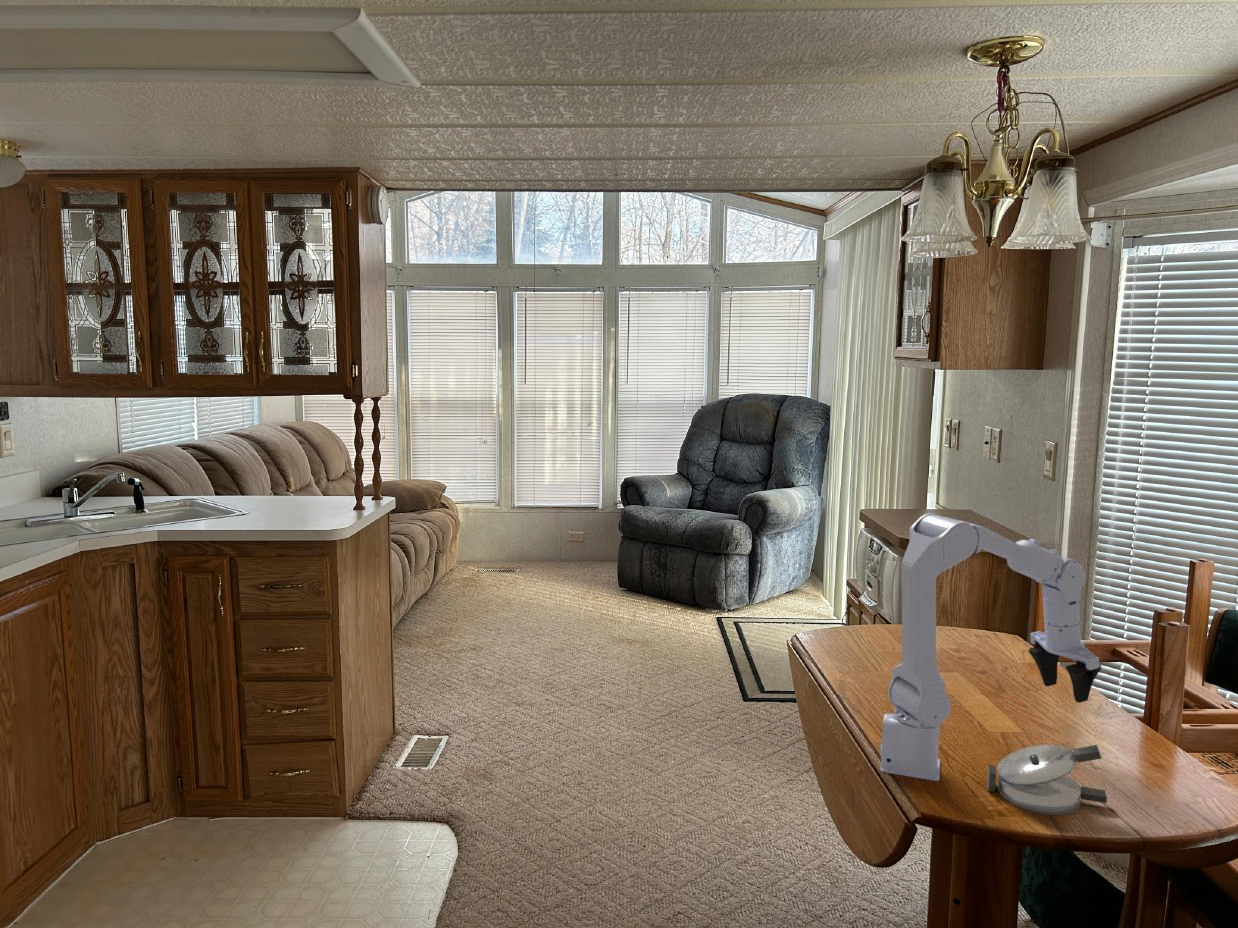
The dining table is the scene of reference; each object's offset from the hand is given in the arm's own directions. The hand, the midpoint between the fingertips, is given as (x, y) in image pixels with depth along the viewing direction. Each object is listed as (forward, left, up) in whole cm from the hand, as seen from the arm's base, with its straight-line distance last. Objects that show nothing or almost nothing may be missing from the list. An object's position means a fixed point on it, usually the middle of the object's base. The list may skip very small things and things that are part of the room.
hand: (1065, 692), depth 155 cm
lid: (-5, -21, -5) cm, 22 cm away
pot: (-6, -21, -10) cm, 24 cm away
